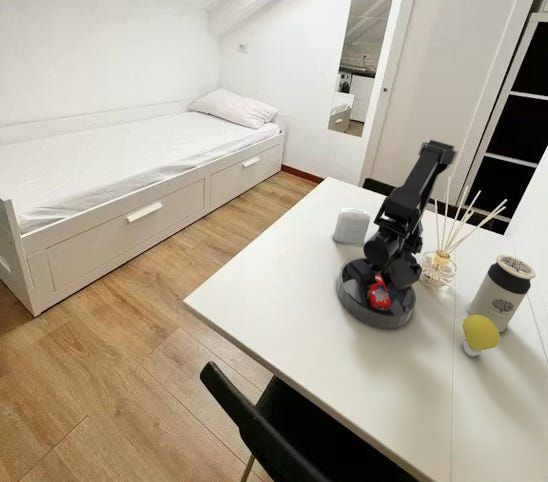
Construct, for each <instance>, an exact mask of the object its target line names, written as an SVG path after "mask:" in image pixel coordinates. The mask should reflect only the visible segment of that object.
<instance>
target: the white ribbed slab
mask: <svg viewBox="0 0 548 482" xmlns="http://www.w3.org/2000/svg"><path fill="white" fill-rule="evenodd" d="M370 221H371V215H370V212H368V211H365V210H363V209H358V208H351V207H350V208H349V207H347V208H346V207H345V208H340V210H339V212H338V215H337V219H336V223H335V228H334V231H333V235H332V239H333V240H334V241H335V242H338V243H344V244H349V245H355V246H364V242H365V238H366V235H367V232H368V228H369V225H370Z"/></svg>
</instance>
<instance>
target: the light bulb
mask: <svg viewBox="0 0 548 482" xmlns="http://www.w3.org/2000/svg"><path fill="white" fill-rule="evenodd" d="M462 328H463V329H462V330H463V334H464V337H465V339H464V341H463V343H462V345H463V351H464V352H465V354H466V355H468V356H470V357H475V356H479V355H480V353H481V352H482V351H486V350H490V349H494V348H496V347H497V346H498V345H499V343H500V339H501V337H500V336H501V335H500V332H498V329H497V327H496V326H495V324H494V323H493V322H492V321H491V320H490V319H488V318H486V317H485V316H482V315H477V314H475V315H470V314H469V315H468V316H467V317H466V318H464V319H463V322H462Z"/></svg>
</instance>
